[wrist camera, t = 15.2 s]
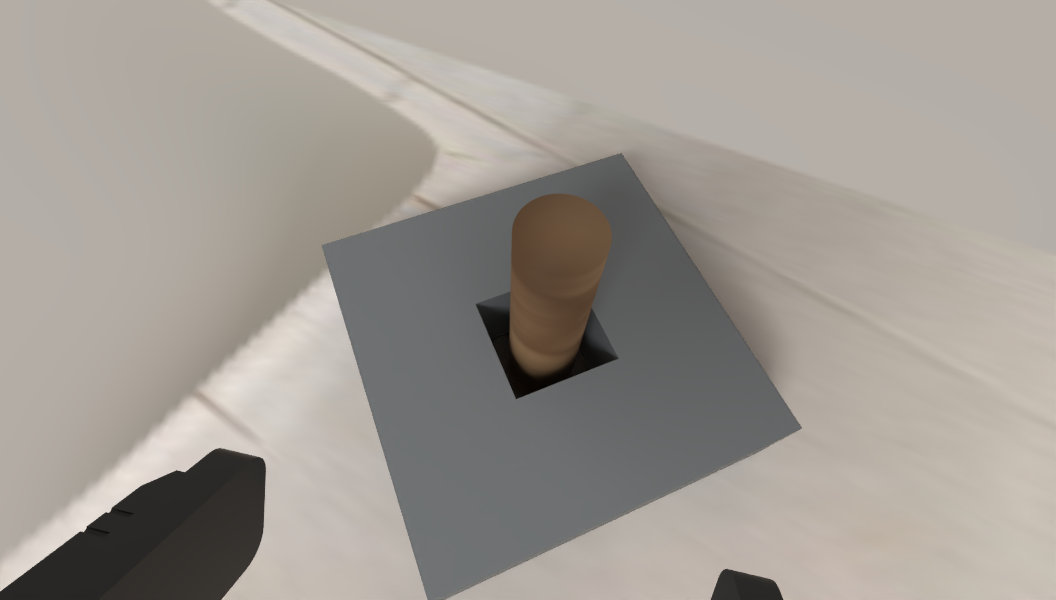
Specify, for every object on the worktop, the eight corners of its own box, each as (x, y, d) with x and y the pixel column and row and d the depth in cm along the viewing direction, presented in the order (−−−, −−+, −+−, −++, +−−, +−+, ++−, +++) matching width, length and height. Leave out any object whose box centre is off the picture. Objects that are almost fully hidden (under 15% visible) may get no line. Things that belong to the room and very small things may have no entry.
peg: (555, 331, 29) (585, 182, 18) (581, 384, 28) (629, 256, 17) (499, 352, 28) (496, 210, 18) (523, 408, 27) (535, 290, 16)
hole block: (607, 205, 33) (621, 153, 29) (757, 452, 26) (802, 428, 22) (346, 291, 30) (321, 245, 26) (441, 600, 23) (428, 602, 19)
